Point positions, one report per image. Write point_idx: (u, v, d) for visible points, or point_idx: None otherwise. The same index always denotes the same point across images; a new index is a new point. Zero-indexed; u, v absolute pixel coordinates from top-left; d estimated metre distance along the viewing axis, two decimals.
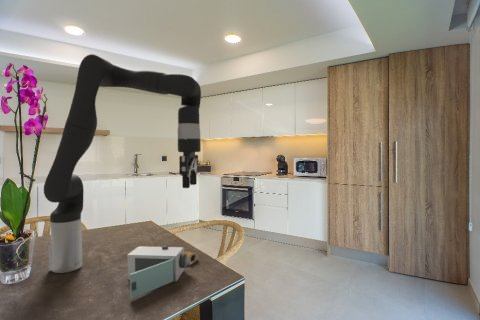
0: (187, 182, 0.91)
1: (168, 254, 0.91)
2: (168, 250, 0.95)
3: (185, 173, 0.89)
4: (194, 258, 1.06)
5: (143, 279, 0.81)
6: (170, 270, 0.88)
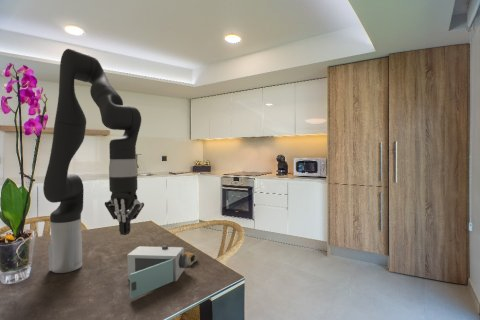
0: (120, 228, 0.83)
1: (168, 254, 0.91)
2: (168, 250, 0.95)
3: None
4: (194, 258, 1.06)
5: (143, 279, 0.81)
6: (170, 270, 0.88)
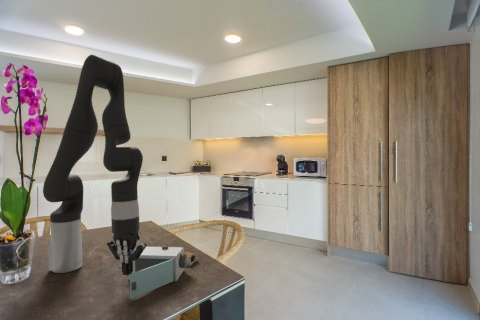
0: (122, 268, 0.83)
1: (168, 254, 0.91)
2: (168, 250, 0.95)
3: None
4: (194, 258, 1.06)
5: (143, 279, 0.81)
6: (170, 270, 0.88)
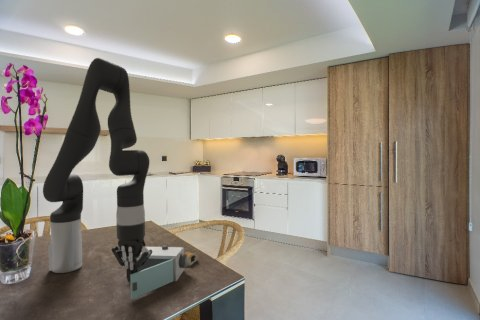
0: (127, 275, 0.81)
1: (168, 254, 0.91)
2: (168, 250, 0.95)
3: None
4: (194, 258, 1.06)
5: (144, 279, 0.81)
6: (170, 270, 0.88)
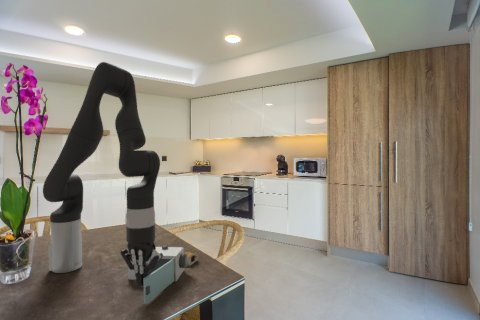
0: (137, 279, 0.79)
1: (168, 254, 0.91)
2: (168, 250, 0.95)
3: None
4: (194, 258, 1.06)
5: (153, 282, 0.79)
6: (172, 270, 0.88)
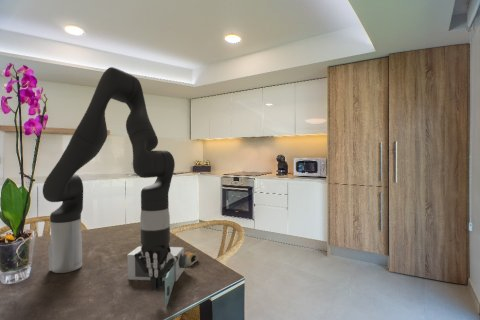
0: (151, 282, 0.77)
1: None
2: None
3: None
4: (194, 258, 1.06)
5: (169, 282, 0.79)
6: (174, 270, 0.88)
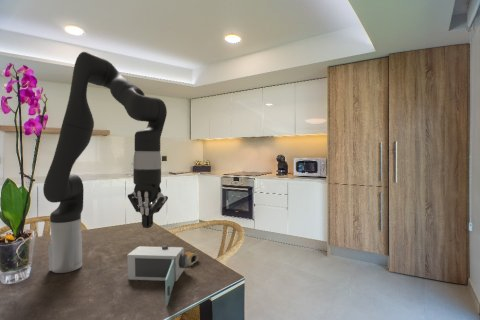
0: (142, 221, 0.82)
1: (168, 254, 0.91)
2: (168, 250, 0.95)
3: None
4: (195, 258, 1.05)
5: (169, 282, 0.79)
6: (174, 270, 0.88)
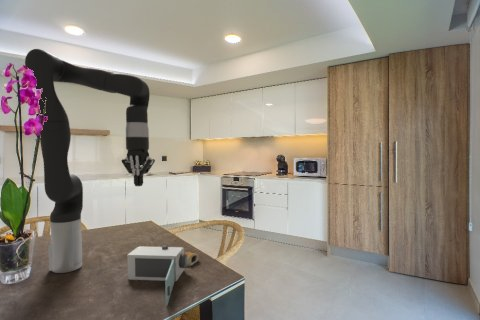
0: (134, 180, 0.99)
1: (168, 254, 0.91)
2: (168, 250, 0.95)
3: None
4: (195, 259, 1.05)
5: (169, 282, 0.79)
6: (174, 270, 0.88)
